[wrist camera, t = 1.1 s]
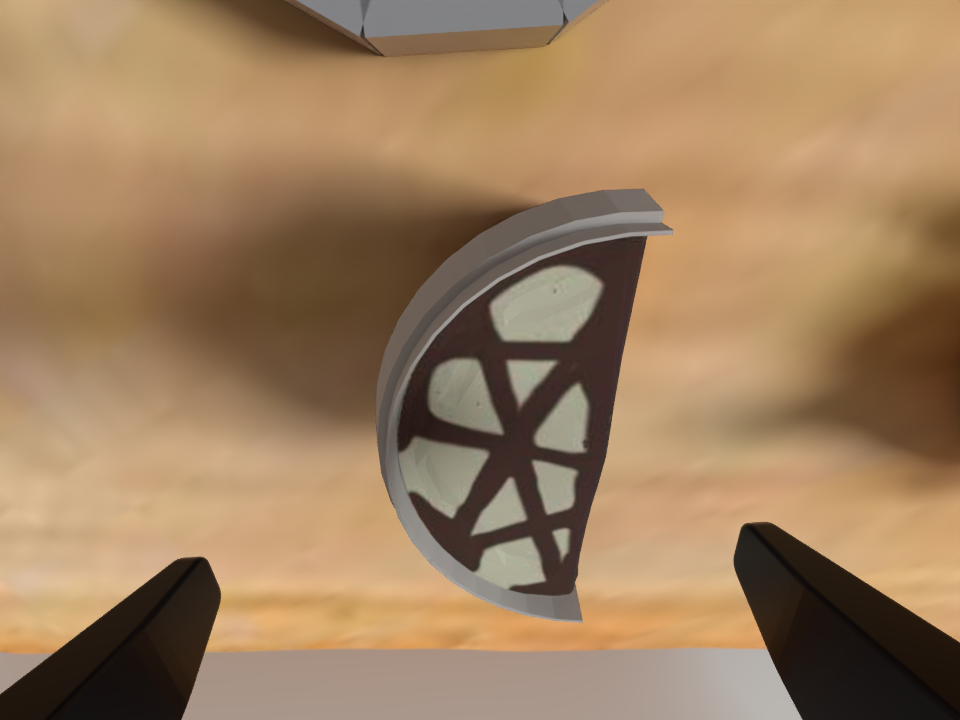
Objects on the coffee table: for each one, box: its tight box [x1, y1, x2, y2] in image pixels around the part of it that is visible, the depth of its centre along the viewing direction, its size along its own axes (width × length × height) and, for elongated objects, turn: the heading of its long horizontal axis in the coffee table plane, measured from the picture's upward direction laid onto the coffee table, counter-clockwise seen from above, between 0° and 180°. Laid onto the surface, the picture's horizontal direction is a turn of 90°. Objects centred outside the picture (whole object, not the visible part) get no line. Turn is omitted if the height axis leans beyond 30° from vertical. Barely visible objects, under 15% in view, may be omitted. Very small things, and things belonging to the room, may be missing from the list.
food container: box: [375, 189, 674, 623], centre depth 16 cm, size 12×6×10 cm, turn 177°
